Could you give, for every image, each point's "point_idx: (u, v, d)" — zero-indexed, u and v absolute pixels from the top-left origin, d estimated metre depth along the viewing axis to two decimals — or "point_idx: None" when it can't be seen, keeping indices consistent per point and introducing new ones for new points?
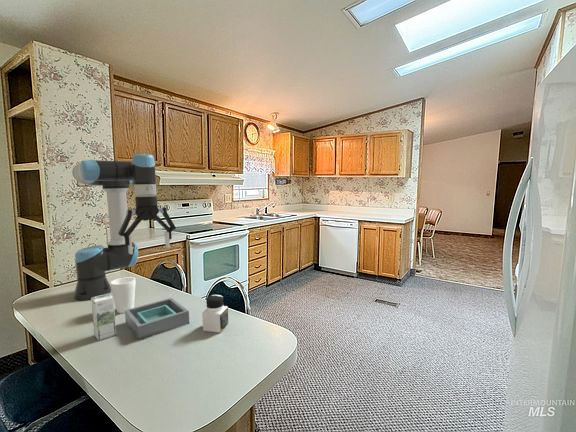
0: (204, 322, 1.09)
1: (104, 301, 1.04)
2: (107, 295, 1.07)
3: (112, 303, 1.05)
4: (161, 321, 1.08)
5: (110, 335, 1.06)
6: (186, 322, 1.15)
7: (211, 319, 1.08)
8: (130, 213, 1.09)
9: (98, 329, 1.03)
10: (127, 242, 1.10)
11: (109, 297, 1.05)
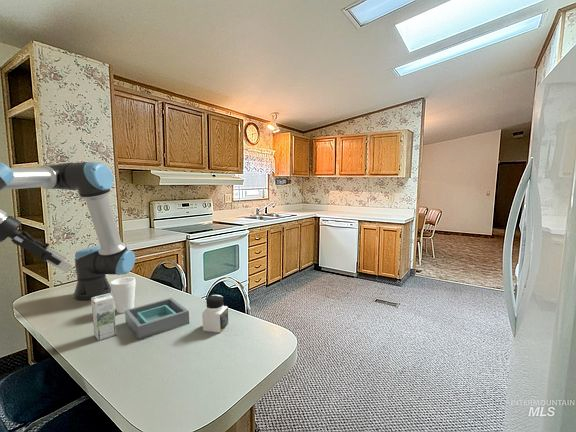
0: (204, 322, 1.09)
1: (104, 301, 1.04)
2: (107, 295, 1.07)
3: (112, 303, 1.05)
4: (161, 321, 1.08)
5: (110, 335, 1.06)
6: (186, 322, 1.15)
7: (211, 319, 1.08)
8: None
9: (98, 329, 1.03)
10: None
11: (109, 297, 1.05)
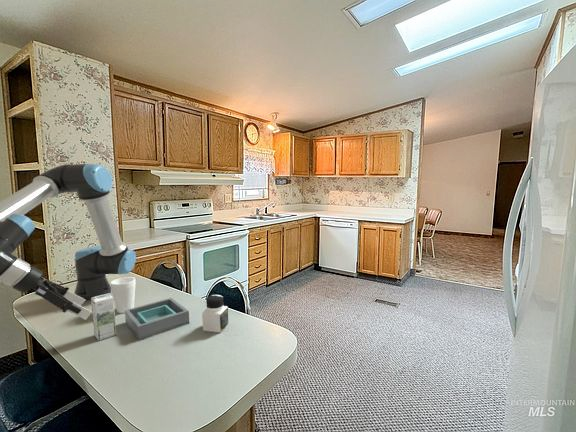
0: (204, 322, 1.09)
1: (104, 301, 1.04)
2: (107, 295, 1.07)
3: (112, 303, 1.05)
4: (161, 321, 1.08)
5: (110, 335, 1.06)
6: (186, 322, 1.15)
7: (211, 319, 1.08)
8: None
9: (98, 329, 1.03)
10: None
11: (109, 297, 1.05)
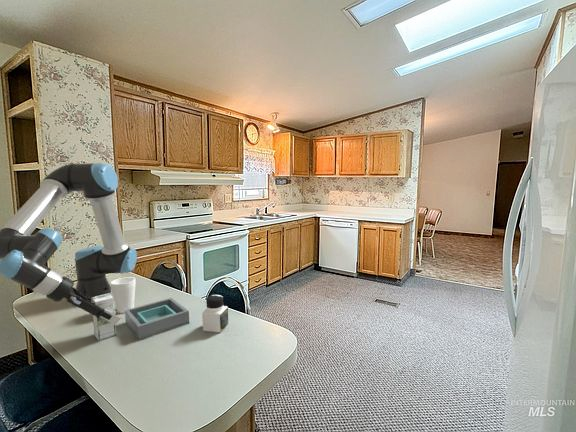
0: (204, 322, 1.09)
1: (104, 301, 1.04)
2: (107, 295, 1.07)
3: (112, 303, 1.05)
4: (161, 321, 1.08)
5: (110, 335, 1.06)
6: (186, 322, 1.15)
7: (211, 319, 1.08)
8: None
9: (98, 329, 1.03)
10: None
11: (109, 297, 1.05)
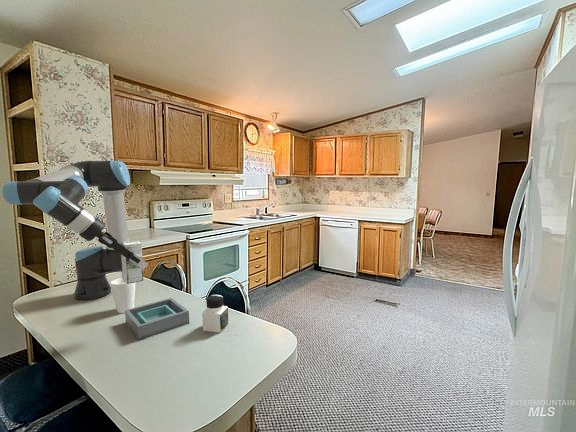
0: (204, 322, 1.09)
1: (133, 245, 1.06)
2: (135, 241, 1.09)
3: (140, 248, 1.07)
4: (161, 321, 1.08)
5: (138, 280, 1.08)
6: (186, 322, 1.15)
7: (211, 319, 1.08)
8: None
9: (127, 272, 1.05)
10: None
11: (137, 242, 1.07)
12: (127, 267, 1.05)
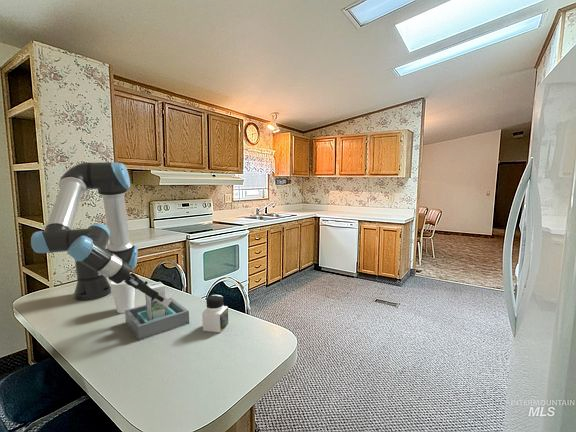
0: (204, 322, 1.09)
1: (157, 288, 1.12)
2: (159, 283, 1.15)
3: (164, 290, 1.14)
4: (161, 321, 1.08)
5: None
6: (186, 322, 1.15)
7: (211, 319, 1.08)
8: None
9: (152, 314, 1.12)
10: None
11: (161, 285, 1.14)
12: (152, 309, 1.12)
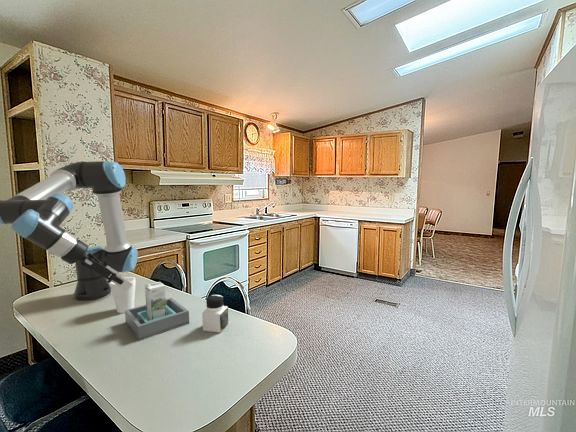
0: (204, 322, 1.09)
1: (157, 288, 1.12)
2: (159, 283, 1.15)
3: (164, 290, 1.14)
4: (161, 321, 1.08)
5: None
6: (186, 322, 1.15)
7: (211, 319, 1.08)
8: None
9: (152, 314, 1.12)
10: None
11: (161, 285, 1.14)
12: (152, 309, 1.12)
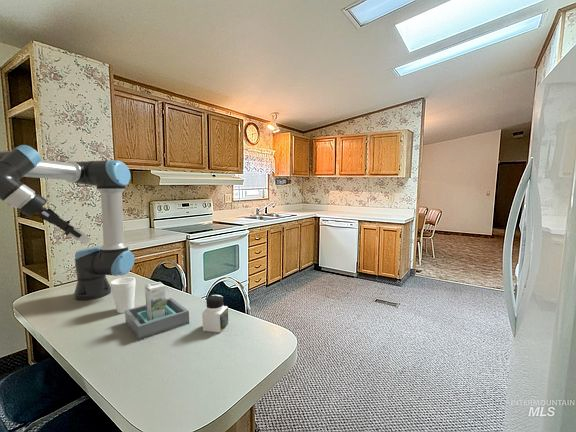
0: (204, 322, 1.09)
1: (157, 288, 1.12)
2: (159, 283, 1.15)
3: (164, 290, 1.14)
4: (161, 321, 1.08)
5: None
6: (186, 322, 1.15)
7: (211, 319, 1.08)
8: None
9: (152, 314, 1.12)
10: None
11: (161, 285, 1.14)
12: (152, 309, 1.12)
